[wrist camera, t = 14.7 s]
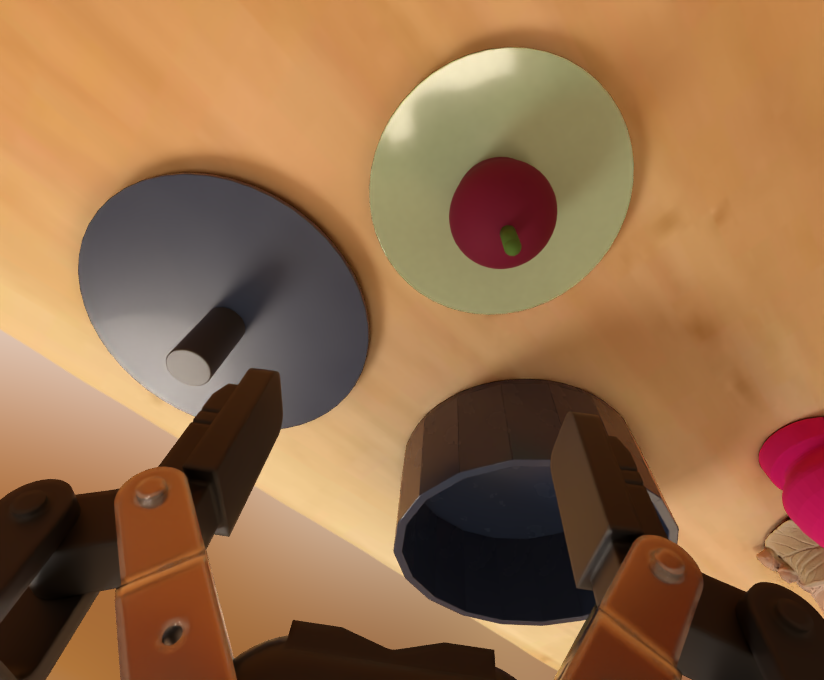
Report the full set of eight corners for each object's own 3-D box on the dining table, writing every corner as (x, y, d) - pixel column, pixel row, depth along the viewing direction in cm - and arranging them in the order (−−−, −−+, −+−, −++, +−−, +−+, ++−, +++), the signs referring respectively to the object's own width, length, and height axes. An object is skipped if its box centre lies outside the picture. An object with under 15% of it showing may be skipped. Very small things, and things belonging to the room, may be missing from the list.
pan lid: (380, 192, 25) (362, 225, 20) (364, 435, 35) (349, 498, 30) (47, 150, 25) (-55, 172, 20) (127, 405, 35) (73, 462, 30)
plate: (673, 66, 21) (681, 66, 20) (581, 321, 28) (585, 328, 28) (379, 30, 21) (377, 29, 20) (365, 294, 28) (363, 299, 28)
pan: (676, 395, 31) (734, 481, 25) (591, 549, 41) (617, 639, 34) (417, 362, 31) (408, 439, 25) (395, 524, 41) (385, 609, 35)
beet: (558, 156, 23) (599, 192, 16) (532, 252, 25) (559, 314, 19) (457, 144, 23) (459, 175, 16) (442, 241, 25) (440, 299, 19)
